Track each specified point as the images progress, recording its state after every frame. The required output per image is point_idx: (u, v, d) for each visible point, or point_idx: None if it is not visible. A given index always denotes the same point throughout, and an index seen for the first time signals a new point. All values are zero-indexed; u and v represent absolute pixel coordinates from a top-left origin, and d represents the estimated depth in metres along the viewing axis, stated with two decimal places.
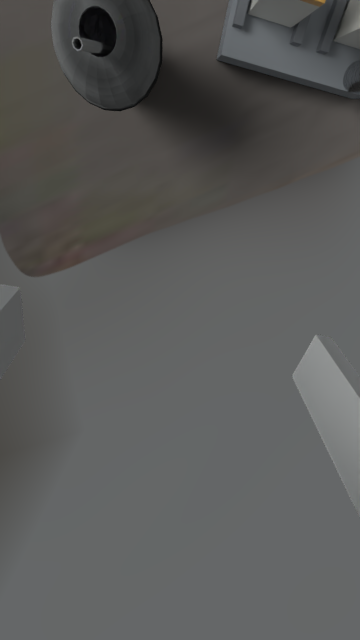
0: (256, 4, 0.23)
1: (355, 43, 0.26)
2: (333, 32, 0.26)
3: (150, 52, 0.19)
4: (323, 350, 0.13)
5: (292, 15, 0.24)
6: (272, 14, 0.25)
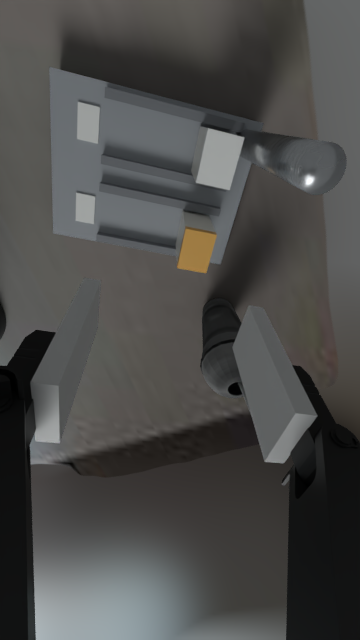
0: None
1: None
2: None
3: None
4: (252, 318, 0.14)
5: None
6: None
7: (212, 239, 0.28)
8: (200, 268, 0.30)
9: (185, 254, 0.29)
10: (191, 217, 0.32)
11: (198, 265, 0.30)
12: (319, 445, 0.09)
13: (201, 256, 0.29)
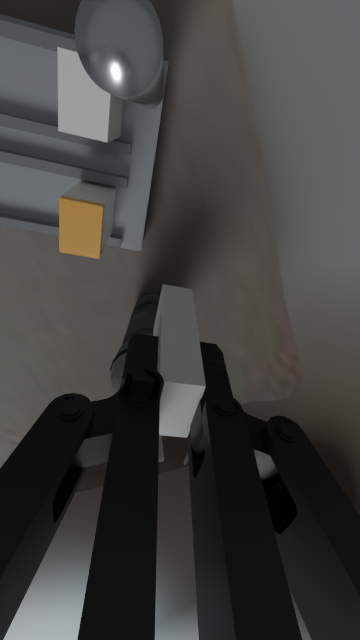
0: (107, 240, 0.27)
1: (120, 112, 0.23)
2: (114, 143, 0.24)
3: None
4: (176, 299, 0.14)
5: (110, 206, 0.25)
6: (110, 218, 0.27)
7: (98, 213, 0.21)
8: (90, 252, 0.23)
9: (66, 233, 0.22)
10: (85, 188, 0.25)
11: (87, 248, 0.23)
12: (205, 421, 0.09)
13: (88, 236, 0.22)
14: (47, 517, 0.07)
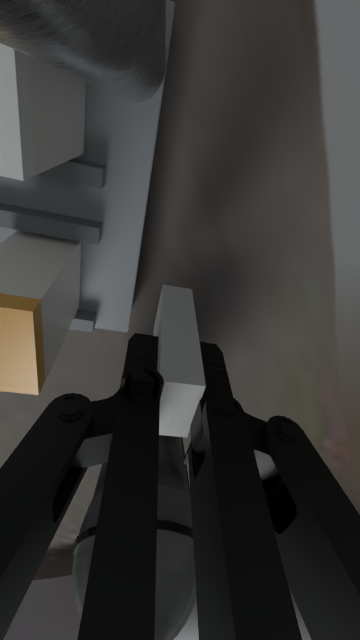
0: (66, 332, 0.15)
1: (78, 107, 0.11)
2: (71, 167, 0.13)
3: None
4: (176, 299, 0.14)
5: (65, 281, 0.14)
6: (72, 295, 0.15)
7: (24, 322, 0.10)
8: (19, 386, 0.12)
9: None
10: (17, 250, 0.13)
11: (11, 380, 0.11)
12: (205, 421, 0.09)
13: (10, 361, 0.11)
14: (47, 517, 0.07)
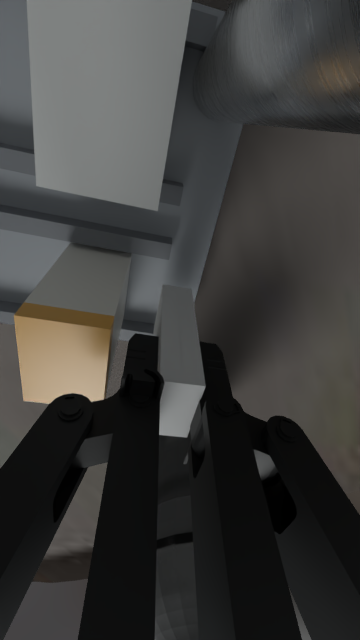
0: (117, 343, 0.15)
1: None
2: None
3: None
4: (176, 299, 0.14)
5: (123, 294, 0.14)
6: (123, 306, 0.15)
7: (100, 340, 0.10)
8: None
9: (35, 373, 0.11)
10: (77, 263, 0.13)
11: None
12: (205, 421, 0.09)
13: (80, 377, 0.11)
14: (47, 517, 0.07)
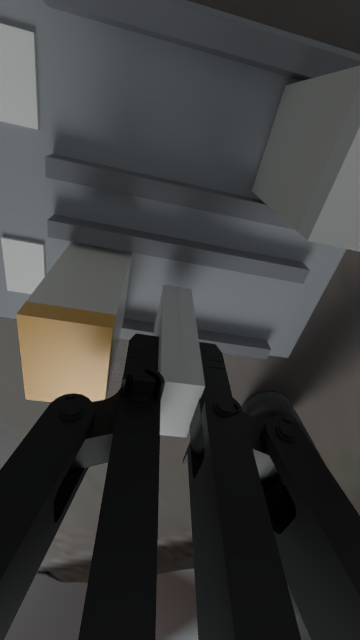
0: None
1: None
2: None
3: None
4: (176, 299, 0.14)
5: (124, 293, 0.14)
6: None
7: (102, 338, 0.10)
8: None
9: (37, 372, 0.11)
10: (78, 262, 0.13)
11: (80, 393, 0.12)
12: (204, 421, 0.09)
13: (82, 375, 0.11)
14: (48, 517, 0.07)
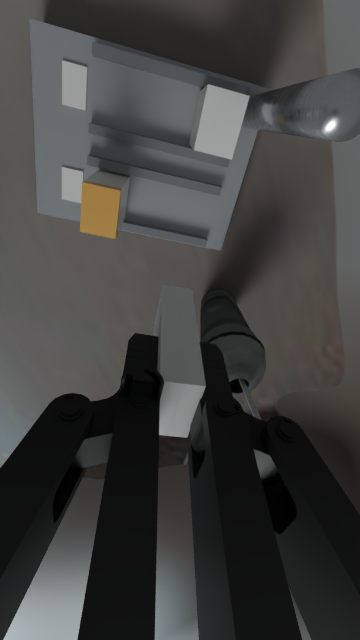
0: (121, 224, 0.29)
1: None
2: (216, 157, 0.28)
3: (244, 350, 0.29)
4: (177, 299, 0.14)
5: (125, 192, 0.28)
6: (125, 204, 0.29)
7: (116, 196, 0.24)
8: (108, 233, 0.26)
9: (87, 214, 0.25)
10: (103, 175, 0.27)
11: (104, 228, 0.26)
12: (205, 421, 0.09)
13: (106, 217, 0.25)
14: (47, 517, 0.07)
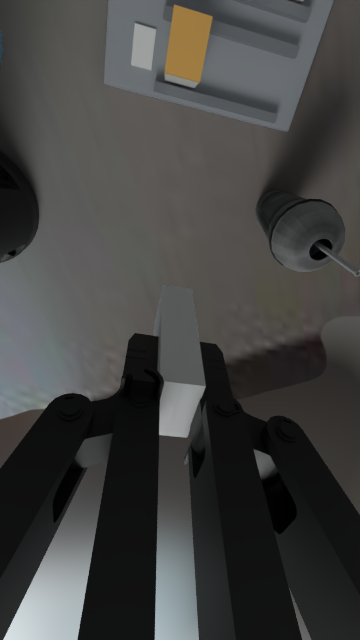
0: (196, 85, 0.28)
1: None
2: (298, 7, 0.27)
3: (327, 212, 0.28)
4: (176, 299, 0.14)
5: None
6: None
7: (207, 24, 0.23)
8: (193, 74, 0.25)
9: (174, 49, 0.24)
10: None
11: (190, 68, 0.24)
12: (205, 421, 0.09)
13: (194, 53, 0.24)
14: (47, 517, 0.07)
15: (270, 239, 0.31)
